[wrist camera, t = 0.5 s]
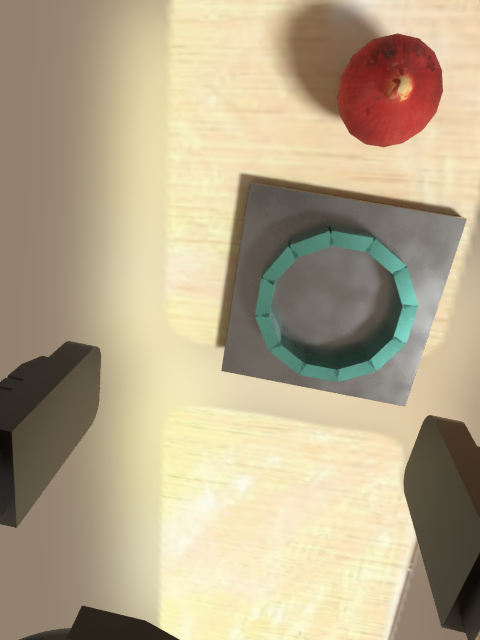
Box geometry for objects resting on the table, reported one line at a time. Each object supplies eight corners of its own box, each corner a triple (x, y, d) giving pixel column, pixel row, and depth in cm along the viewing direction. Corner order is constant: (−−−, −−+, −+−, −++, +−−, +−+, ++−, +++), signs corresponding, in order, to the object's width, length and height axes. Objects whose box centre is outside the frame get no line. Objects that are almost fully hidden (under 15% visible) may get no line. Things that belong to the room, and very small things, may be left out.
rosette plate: (251, 181, 33) (246, 184, 30) (461, 216, 32) (477, 223, 29) (223, 365, 39) (217, 382, 36) (402, 400, 38) (410, 420, 35)
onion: (328, 61, 30) (336, 33, 22) (420, 37, 29) (461, -1, 21) (340, 154, 32) (352, 157, 24) (428, 135, 31) (468, 132, 23)
